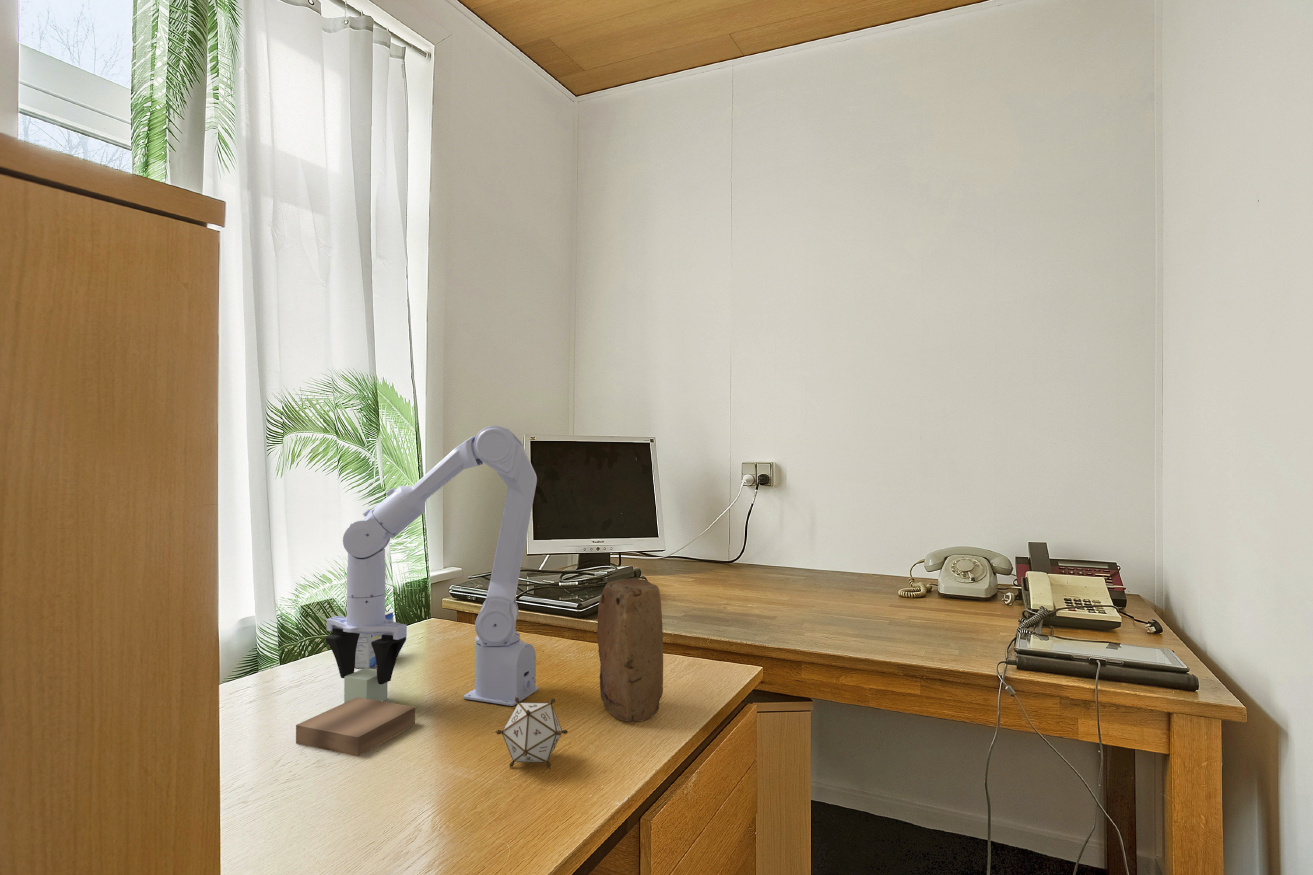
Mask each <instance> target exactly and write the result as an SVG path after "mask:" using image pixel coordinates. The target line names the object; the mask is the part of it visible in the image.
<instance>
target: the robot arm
mask: <svg viewBox="0 0 1313 875" xmlns="http://www.w3.org/2000/svg"><path fill="white" fill-rule="evenodd" d="M484 464H486V465H487V467H488V466H489V467H490V468H492V470H494V471H495V472H496V473H497V475H498V476H499V477H500V478H501V480H502V481H503V482H504V483H505V485H506V486H507V489H506V496H505V501H504V505H503V511H502V516H501V521H500V522H501V523H500V527H499V533H498V538H497V544H496V548H495V553H494V558H493V565H492V568H491V575H490V580H489V584H488V590H487V592H486V597H485V600H484V602H483V603H482V605H481V609H480V611H479V612H478V615H477V616H476V619H475V622H474V630H475V633H476V636H475V638H474V689H473V690H471V691H468V692H467V693H465V694H463V699H465V700H471V701H477V702H484V703H490V704H497V705H504V706H508V707H509V706H510V707H511V706H512V707H514V706H516V705H517V703H516V701H515V697H517V698H519V702H522V701H524V699H526V698H527V697H529V696H531V695H532V694H533V693H535V692H537V691H538V690H539V687H538V686H537V683H536V682H537V677H536V676H537V671H536V670H537V669H536V668H537V662H536V661H537V660H536V659H537V657H536V656H537V655H536V654H537V653H536V650H535V647H534V646H533V644H531V643H528V642H525V641H524V640H522V639H521V635H520V633H519V632H518V631H517V630H516V625H517V624H516V622H517V619H518V617H519V606H518V603H517V598H516V597H517V590H518V585H519V579H520V574H521V573H520V572H521V568H522V563H523V558H524V552H525V546H526V542H527V537H528V536H527V535H528V530H529V526H530V525H529V524H530V520H531V515H532V514H531V513H532V509H533V504H534V499H535V498H534V497H535V493H536V487H537V482H538V477H537V474H536V471H535V469H534V467H533V465H532V463H531V461H530V458H529V455H528V453H527V452H526V449H525V446H524V444H523V442H522V441H521V440H520V439H519V438H518V437H517V436H516V435H515V433H513V432H512V431H511V430H510V429H508V428H506V427H503V426H500V425H489V426H486V427H483V428H482V429H481V430H479V431H478V433H477V434H476V436H474V435H473V436H470V437H469V438H468V439H466V440H464V441H462V443H460V444H459V445H457V446H456V447H454V448H453V449H452V450H451V451H450V452H449V453H448V454H447V455H446V456H444V457H443V458H442V459H441V460H440V461H439V462H437V464H436V465H435V466H433V467H432V468H431V469H430V470H429V471H427V472H426V473H425V474H424V475H423V476H422V477H421V478H420V479H419V480H418V481H417V482H415V483H414V484H413V485H412V486H410V485H400V486H398V487H397V488H395V487H392V488H390V489H388V490H387V491H386V493H385V495H386V497H385V498H384V499H383V500H382V501H381V502H380V503H377V505H376V506H375V507H373V508H372V509H366V510H365V511H364V512H363V513H362V515H363V517H364V519H361V520H356V521H354V522H351V523H350V525H349V526H348V528H346V529H345V532H344V534H343V537H342V545H343V548H344V549H345V551H346V552H347V567H346V616H337V615H336V616H332V617H329V618H326V631H327V632H331V633H330V634H328V635H326V636H325V643H327V645H328V647H329V648H330V650H331V652H332V654H333V656H334V659H335V661H336V665H337V669H338V672H339V676H340V678H341V679H344V677H345V676H347V675H350V674H352V673H355V669H356V668H355V654H356V647H357V642H358V639H359V635H360V634H368V635H376V636H382V637H381V639H378V640H375V641H372V642H371V645H372V647H373V650H374V653H375V657H376V663H377V665H376V670H377V680H378V684H384V683H387V684H388V683H389V682H390V681H391V680H392V677H393V673H394V668H395V664H396V662H397V659H398V656H399V654H400V652H401V651H402V648H403V646H404V645H405V643H406V641H407V635H408V634H407V630H408V629H407V627H408V626H407V624H403V623H399V622H397V621H394V620H393V621H391V620H388V619H385V612H386V584H387V583H386V581H387V580H386V575H387V574H386V567H387V566H386V549H385V548H386V547H388V545H389V543H390V541H391V539H393V538H396V537H397V536H398V535H399V534H400V533H401V532H403V531H404V530H405V529H406V528H407V527H409V526H410V525H411V524H412V523H414V522H415V521H416V519H418V518H419V517H420V516H422V515H423V514H424V513H425V512H426V502H427V500H428V499H429V498H430V497H432V496H433V495H434V494H436V493H437V492H438V491H439V490H440V489H442V488H443V487H444V486H445V485H446V484H448V483H449V482H451V480H452V479H455V477H457V476H458V475H459V474H460V473H462V472H463V471H464V470H467V469H469V468H474V467H478V466H483V465H484Z"/></svg>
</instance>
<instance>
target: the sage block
mask: <svg viewBox="0 0 1313 875" xmlns="http://www.w3.org/2000/svg"><path fill="white" fill-rule="evenodd" d="M343 679H344V680H343V681H344V688H343V689H344V693H343V695H344V696H343V703H345V702H348V701H350V700H352V699H354V698H356V697H359V698H365V699H371V700H377V701H382V702H384V701H386V700H387V699H388V682H387V683H384V684H378V680H377V668H376V669H374V668H370V669H369V668H361V669H360V670H357V671H354V673H352V674H350V675H347V676H345V677H344V678H343Z"/></svg>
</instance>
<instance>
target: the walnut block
mask: <svg viewBox="0 0 1313 875" xmlns="http://www.w3.org/2000/svg"><path fill="white" fill-rule="evenodd" d="M415 725H416V707H415V706H410V705H405V704H399V703H393V702H387V701H377V700H371V699H365V698H359V697H356V698H354V699H352V700H350V701H348V702H345V703H344V702H343V703H341V704H340V705H337V706H334V707H332V708H330V709H328V710H326V711H324V712H321V713H319V714H317V715H315V716H312V717H311V718H308V719H306V720H304V721H302V722H300V723H297V724H295V744H297V745H302V746H305V747H306V746H307V747H311V748H315V749H320V750H325V751H329V752H330V751H331V752H336V753H339V754H343V755H350V756H354V757H360V756H362V755H363V754H365V753H367V752H368V751H370V750H372V749H374V748H376V747H379V745H382V744H383V743H385V742H386V741H388V740H390V739H392V738H394V737H396V736H397V735H399V734H401V733H403V732H404V731H406V730H408V729H410V728H412V727H413V726H415Z"/></svg>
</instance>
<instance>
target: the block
mask: <svg viewBox="0 0 1313 875" xmlns="http://www.w3.org/2000/svg"><path fill="white" fill-rule="evenodd" d="M661 598H662V597H661V592H660V588H659V586H658V585H657V584H654V583H651V582H650V581H649V580H647V579H643V578H636V577H632V578H621V579H617V580H611V581H609V582H607V583H606V584H605V586H604V587H603V590H602V592H601V595H600V598H599V600H598V607H597V623H596V624H597V625H596V626H597V627H596V628H597V633H596V634H597V648H598V649H597V650H598V658H599V662H600V665H599V667H600V671H599V692H600V698H601V701H602V703H603V706H604V708H605V710H606V711H607V712H609V713H610V715H611V716H612V717H614V718H615V719H617V720H620V721H623V722H628V723H631V722H642V721H646V720H649V719H651V718H652V716H654V715H655V714H657V713H658V712H659V710H660V701H661V699H662V696H663V692H664V687H663V686H664V641H663V640H664V634H663V632H664V631H663V613H662V600H661ZM641 720H642V721H641Z"/></svg>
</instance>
